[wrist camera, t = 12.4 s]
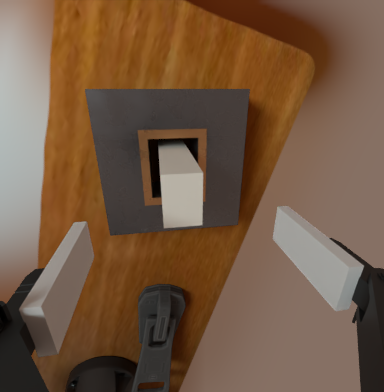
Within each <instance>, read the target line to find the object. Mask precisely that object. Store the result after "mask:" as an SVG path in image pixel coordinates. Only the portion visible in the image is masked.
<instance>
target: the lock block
mask: <svg viewBox="0 0 384 392" xmlns="http://www.w3.org/2000/svg"><path fill="white" fill-rule="evenodd" d="M249 91H250V89H85V92H86V98H87V104H88V109H89V115H90V121H91V127H92V132H93V138H94V144H95V150H96V156H97V161H98V167H99V173H100V179H101V184H102V190H103V196H104V202H105V207H106V213H107V219H108V225H109V230H110V235H122V234H134V233H146V232H158V231H170V230H182V229H193V228H205V227H217V226H229V225H238V217H239V206H240V194H241V183H242V171H243V160H244V149H245V137H246V126H247V114H248V103H249ZM169 138H191V154H192V156H193V157H194V159H195V161H196V162H197V164H198V165H199V167H200V168H201V170H202V172H203V218H202V225H199V226H187V227H175V228H164V224H163V210H162V195H161V181H156V182H153V181H152V168H151V155H150V142H149V139H169Z"/></svg>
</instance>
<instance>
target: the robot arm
mask: <svg viewBox="0 0 384 392" xmlns="http://www.w3.org/2000/svg"><path fill="white" fill-rule="evenodd" d="M273 240H274V241H275V242H276V243H277V244H278V246H279V247H280V248H281V249H282V250H283V251H284V252H285V253H286V255H287V256H288V257H289V258H290V259H291V261H292V262H293V263H294V264H295V265H296V266H297V268H298V269H299V270H300V271H301V272H302V273H303V274H304V276H306V278H307V279H308V280H309V281H310V283H311V284H312V285H313V286H314V287H315V288H316V289H317V291H318V292H319V293H320V294H321V295H322V296H323V297H324V299H325V300H326V301H327V302H328V303H329V304H330V306H331V307H332V308H333V309H334V310H335V311H339V310H346V309H349V307H350V304H351V301H352V300H353V301H354V302H355V303H356V304H357V305H358V307H357V309H356V312H355V315H354V318H353V321H352V322H353V323H355V321H356V320H357V335H358V351H359V366H360V367H359V368H360V383H361V392H384V269H381V268H373V267H372V266H371V265H369V264H368V263H367V262H366V261H364V260H363V259H361V258H360V257H359V256H358V255H356V254H354V253H353V252H352V251H351V250H350V249H348V248H347V247H346V246H344V245H343V244H342V243H340V242H338V241H336V240H334V239H332V238H328V237H327V236H325V235H324V234H323V233H322V232H320V231H319V230H318V229H316V228H315V227H314V226H313V225H311V224H310V223H309V222H307V221H306V220H305V219H304V218H302V217H301V216H300V215H299V214H297V213H296V212H295V211H293V210H292V209H291V208H290V207H288V206H279V207H277V214H276V221H275V227H274V234H273ZM93 259H94V253H93V248H92V244H91V239H90V234H89V229H88V225H87V222H74V224H73V225H72V227H71V228H70V230H69V231H68V233H67V235H66V236H65V238H64V239H63V241H62V242H61V244H60V246H59V247H58V249H57V250H56V252H55V253H54V255H53V257H52V258H51V260H50V261H49V263H48V264H47V266H46V268H42V269H35V270H34V271H33V272H31V273H30V274H29V275H27V276H26V277H25V279H24V280H23V281H22V283H21V284H20V287H18V288H17V290H16V291H15V294H13V295H12V297H11V298H10V300H9V301H8V302H7V304H5V303H4V302H3V301H0V392H49V391H48V389H47V387H46V385H45V383H44V381H43V379H42V377H41V375H40V373H39V371H38V369H37V367H36V365H35V363H34V361H33V359H32V357H31V355H32V353H33V351H34V349H35V350H36V352H37V355H38V357H43V356H49V355H55V354H58V353H59V350H60V348H61V345H62V342H63V339H64V337H65V334H66V331H67V329H68V326H69V323H70V321H71V318H72V315H73V313H74V310H75V307H76V304H77V302H78V299H79V296H80V294H81V291H82V288H83V286H84V283H85V280H86V277H87V275H88V272H89V269H90V267H91V264H92V261H93ZM136 370H137V367H136V366H135V365H134V364H133V363H132V362H130V361H128V360H126V359H123V358H119V357H111V356H105V357H97V358H93V359H89V360H87V361H84V362H82V363H81V364H79V365H77V366H76V367H75V368H74V369H73V370H72V371H71V373H70V375H69V378H68V382H67V385H66V390H65V392H131V391H132V387H133V382H134V379H135V374H136Z"/></svg>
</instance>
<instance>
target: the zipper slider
mask: <svg viewBox="0 0 384 392" xmlns="http://www.w3.org/2000/svg"><path fill="white" fill-rule="evenodd" d="M185 306H186V305H185V298H184V294H183V291H182V288H180V287H177V286H173V285H170V284H157V285H153V286H148V287H145V289H144V290H143V292H142V293H141V295H140V296H139V301H138V314H139V342H140V343H141V344H142V348H141V353H140V357H139V361H138V366H137V370H136V374H135V379H134V382H133V387H132V391H131V392H169V384H170V367H171V353H172V344H173V338H174V335H175V333H176V330H177V327H178V325H179V322H180V319H181V317H182V314H183V312H184V309H185ZM162 381H164V386H163V387H160V388H153V389H139V388H138V385H139V384H140V383H145V382H162Z"/></svg>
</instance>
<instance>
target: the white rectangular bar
mask: <svg viewBox="0 0 384 392" xmlns="http://www.w3.org/2000/svg"><path fill="white" fill-rule="evenodd" d="M158 150H159V166H160V181H161V195H162V210H163V224H164V228H175V227H187V226H199V225H202V218H203V172H202V170H201V168H200V167H199V165H198V164H197V162H196V161H195V159H194V157H193V156H192V154H191V153H190V151H189V150H188V148H187V146H186V145H185V143H184V142H183V140H158Z"/></svg>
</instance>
